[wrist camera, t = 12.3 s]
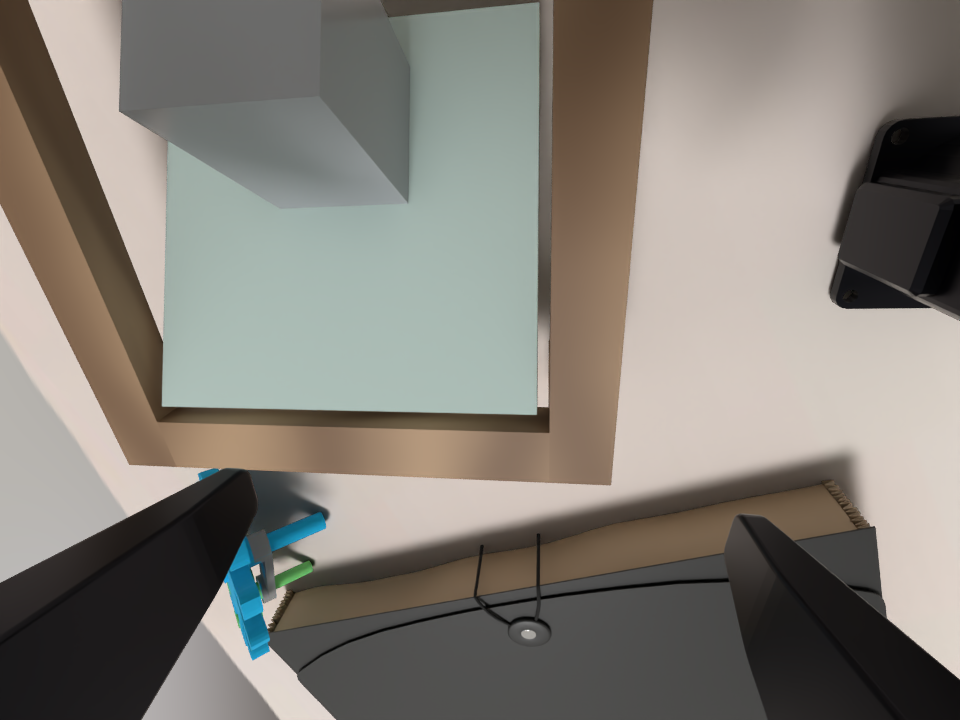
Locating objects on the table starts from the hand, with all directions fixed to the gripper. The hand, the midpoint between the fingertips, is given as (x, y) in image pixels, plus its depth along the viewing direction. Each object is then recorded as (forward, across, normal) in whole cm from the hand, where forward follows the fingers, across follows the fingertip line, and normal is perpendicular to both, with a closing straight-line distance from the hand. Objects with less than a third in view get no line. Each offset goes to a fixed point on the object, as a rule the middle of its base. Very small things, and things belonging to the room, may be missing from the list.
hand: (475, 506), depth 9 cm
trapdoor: (+10, +6, -3) cm, 12 cm away
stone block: (+10, +6, -6) cm, 13 cm away
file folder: (+14, -4, +26) cm, 30 cm away
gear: (+13, +15, +15) cm, 24 cm away
